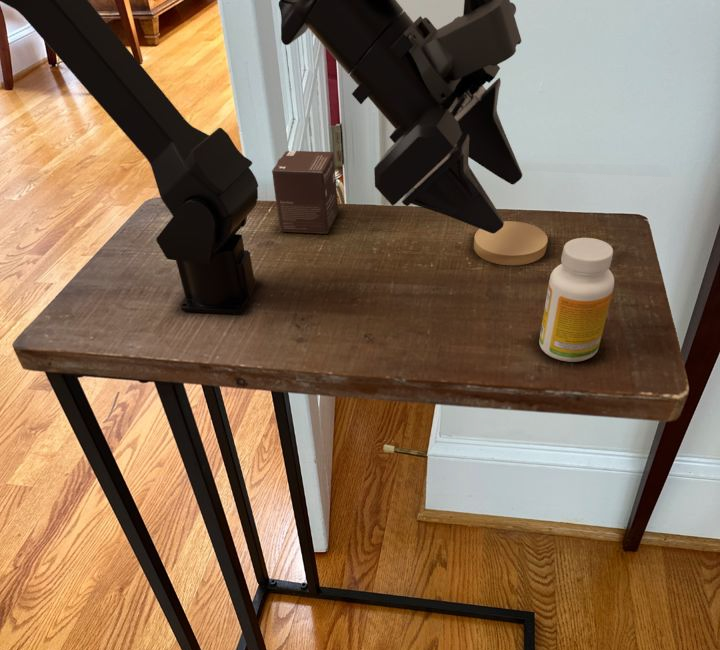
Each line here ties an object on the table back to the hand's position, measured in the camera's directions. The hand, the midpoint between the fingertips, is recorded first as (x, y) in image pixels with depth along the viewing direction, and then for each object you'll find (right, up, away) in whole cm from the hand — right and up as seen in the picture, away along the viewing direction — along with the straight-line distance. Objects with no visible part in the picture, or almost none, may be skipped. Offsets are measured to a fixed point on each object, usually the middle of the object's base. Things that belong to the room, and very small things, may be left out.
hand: (509, 203), depth 56 cm
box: (-18, +9, +27) cm, 34 cm away
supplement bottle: (+7, -10, +8) cm, 15 cm away
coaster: (+5, +3, +21) cm, 22 cm away
